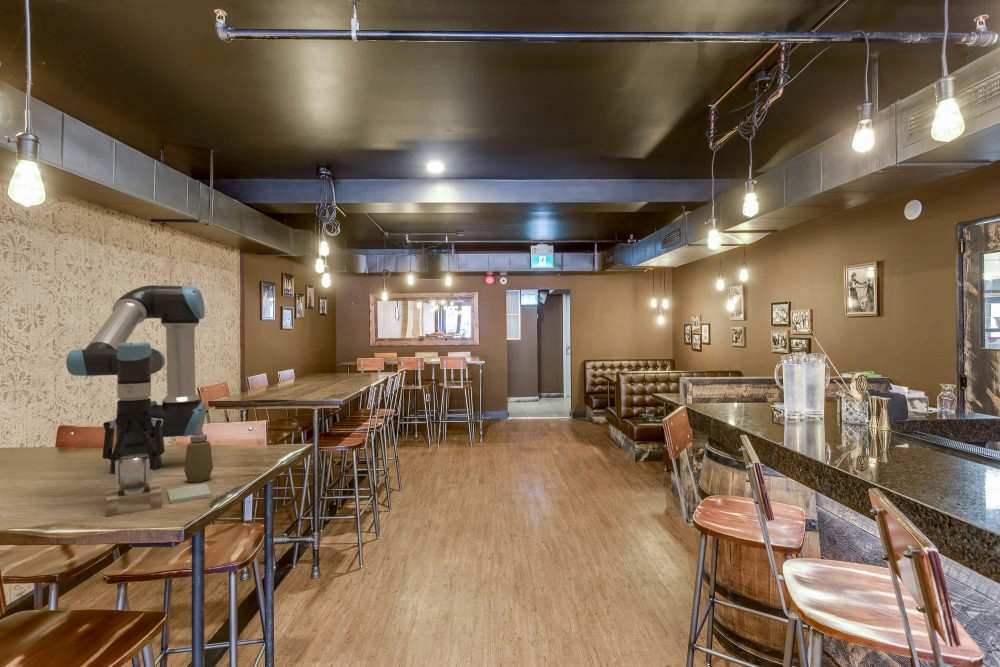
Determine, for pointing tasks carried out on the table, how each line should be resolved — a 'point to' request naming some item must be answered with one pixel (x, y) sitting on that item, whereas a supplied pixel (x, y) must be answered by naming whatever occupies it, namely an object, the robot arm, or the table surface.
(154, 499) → the bore block
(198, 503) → the table surface
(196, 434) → the squeeze bottle
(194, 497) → the mat
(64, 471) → the table surface
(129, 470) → the metal cylinder
